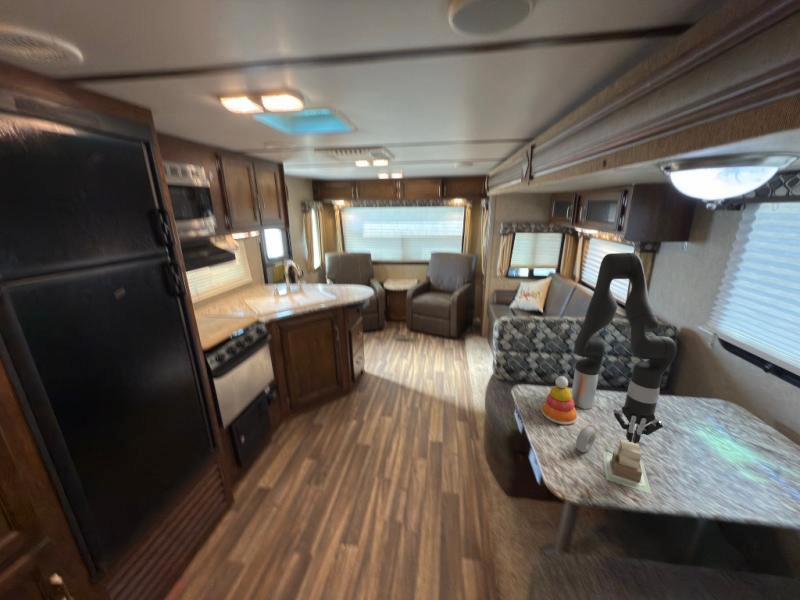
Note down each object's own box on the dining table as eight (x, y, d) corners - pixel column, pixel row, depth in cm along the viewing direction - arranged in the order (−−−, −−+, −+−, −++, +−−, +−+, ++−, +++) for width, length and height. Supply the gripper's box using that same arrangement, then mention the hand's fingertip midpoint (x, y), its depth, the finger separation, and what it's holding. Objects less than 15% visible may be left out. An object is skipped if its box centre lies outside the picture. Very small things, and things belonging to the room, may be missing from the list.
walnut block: (611, 459, 108) (613, 450, 107) (636, 467, 104) (638, 457, 103) (613, 474, 102) (615, 464, 101) (639, 482, 98) (642, 472, 97)
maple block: (617, 453, 105) (620, 439, 104) (635, 458, 103) (638, 444, 101) (619, 463, 101) (622, 448, 99) (637, 469, 99) (641, 454, 97)
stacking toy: (569, 407, 138) (575, 369, 133) (583, 428, 125) (590, 386, 119) (536, 405, 140) (541, 367, 135) (546, 425, 127) (552, 384, 121)
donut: (581, 459, 109) (585, 436, 107) (572, 453, 112) (576, 430, 109) (595, 447, 115) (599, 425, 112) (585, 442, 117) (589, 420, 115)
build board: (602, 452, 112) (602, 450, 112) (642, 464, 106) (643, 462, 106) (605, 481, 100) (606, 478, 100) (651, 496, 95) (651, 493, 94)
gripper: (666, 394, 95) (655, 440, 100) (615, 384, 101) (606, 427, 106) (673, 408, 89) (660, 456, 93) (617, 396, 95) (608, 441, 100)
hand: (631, 441), depth 100 cm, fingers closed
